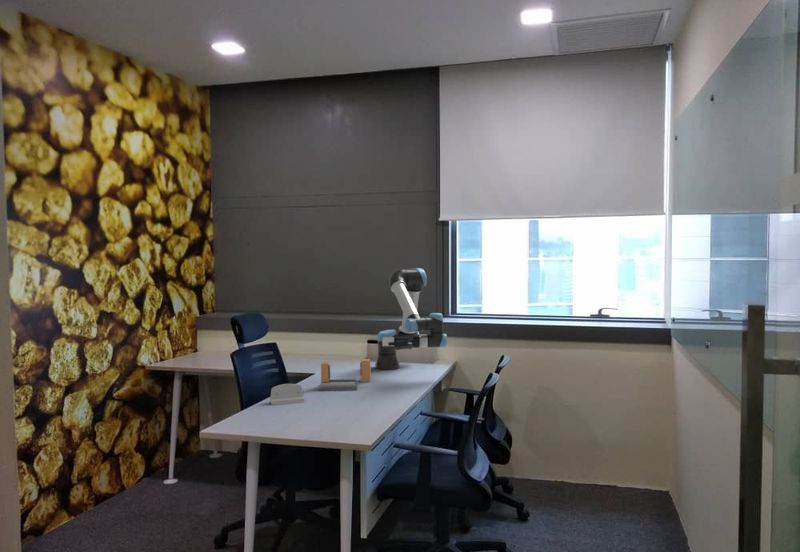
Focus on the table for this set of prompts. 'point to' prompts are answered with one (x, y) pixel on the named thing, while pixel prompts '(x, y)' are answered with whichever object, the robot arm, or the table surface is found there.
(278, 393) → the hinge
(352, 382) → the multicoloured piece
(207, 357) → the table surface
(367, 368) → the orange wooden block
